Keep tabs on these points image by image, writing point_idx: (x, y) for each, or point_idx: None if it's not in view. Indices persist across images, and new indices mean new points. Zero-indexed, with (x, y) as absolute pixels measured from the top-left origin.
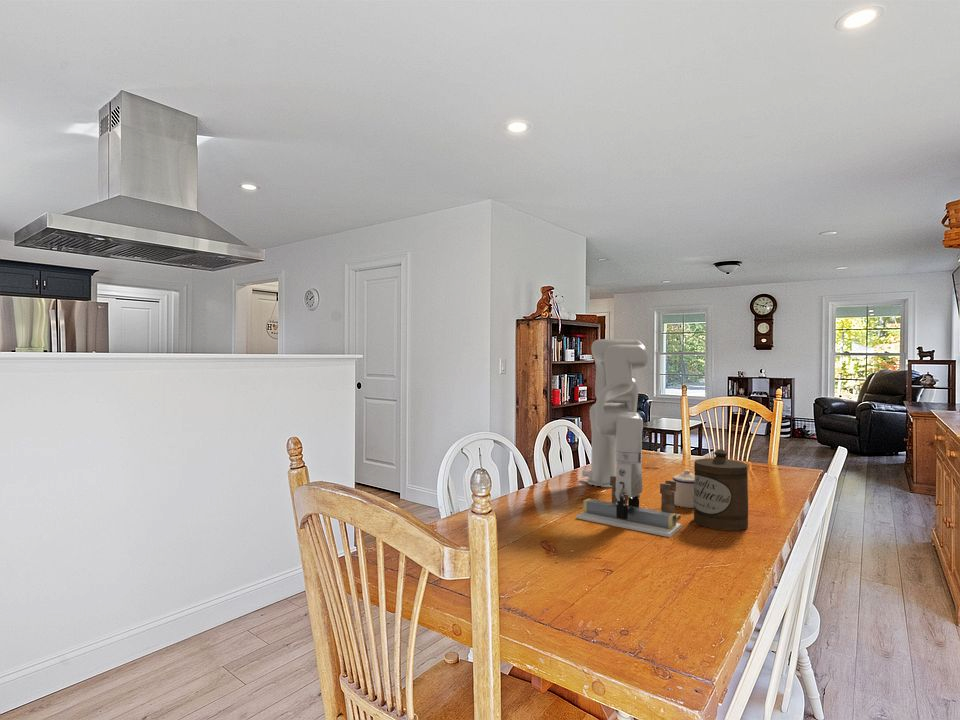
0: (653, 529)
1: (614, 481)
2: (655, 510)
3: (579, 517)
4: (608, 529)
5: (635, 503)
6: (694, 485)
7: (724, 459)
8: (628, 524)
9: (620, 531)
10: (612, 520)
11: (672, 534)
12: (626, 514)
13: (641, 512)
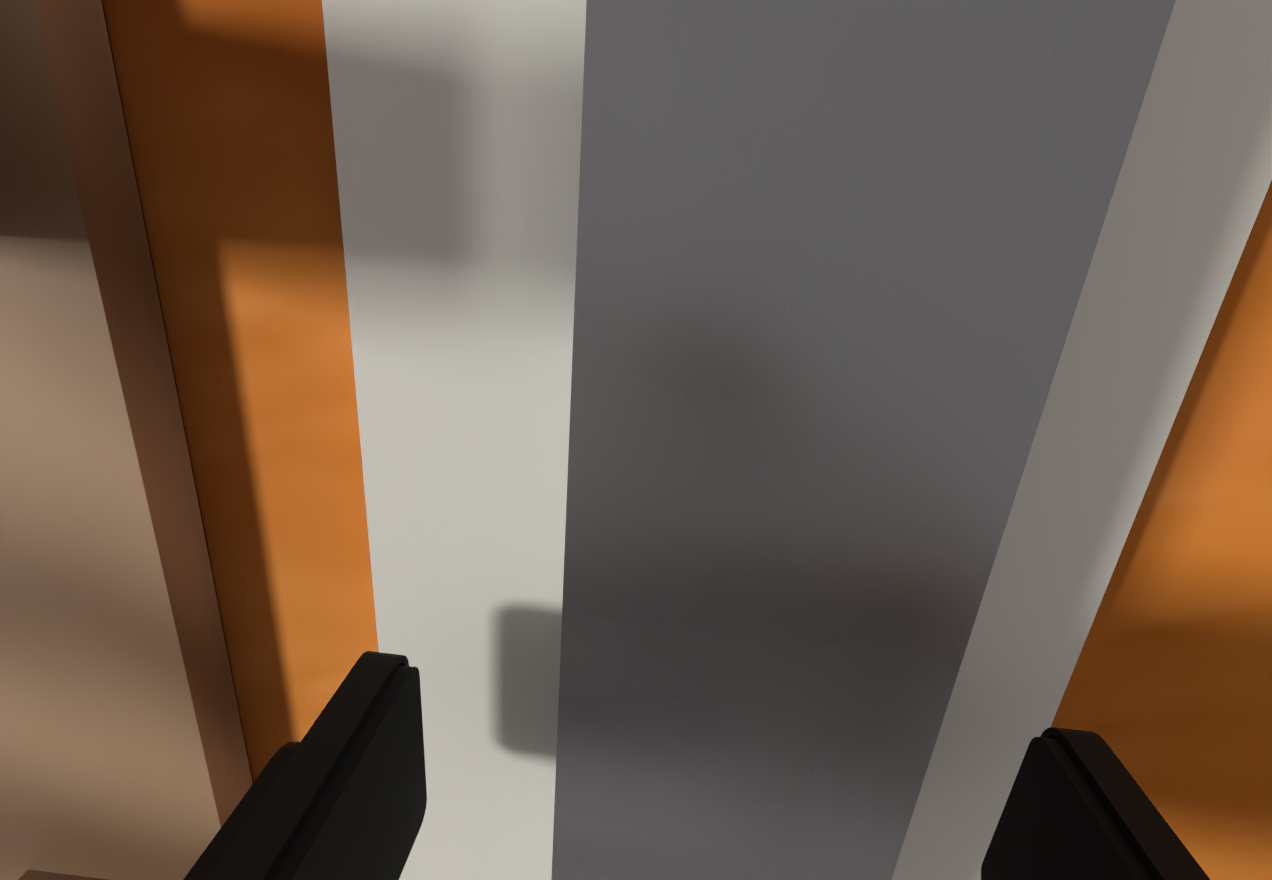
0: (1236, 88)
1: None
2: (597, 209)
3: None
4: (1201, 801)
5: (328, 875)
6: None
7: None
8: (1037, 631)
9: (1255, 650)
10: (906, 861)
11: None
12: (1162, 832)
13: (971, 580)
